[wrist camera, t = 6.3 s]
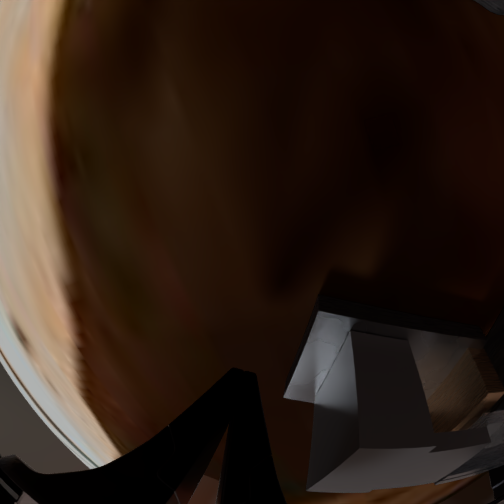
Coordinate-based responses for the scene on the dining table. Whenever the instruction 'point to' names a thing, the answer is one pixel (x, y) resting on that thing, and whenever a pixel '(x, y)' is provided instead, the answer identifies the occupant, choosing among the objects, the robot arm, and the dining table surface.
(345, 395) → the clip
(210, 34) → the dining table surface
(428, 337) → the clip rail
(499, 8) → the camera
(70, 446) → the dining table surface
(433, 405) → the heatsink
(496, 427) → the light grey flat bar
